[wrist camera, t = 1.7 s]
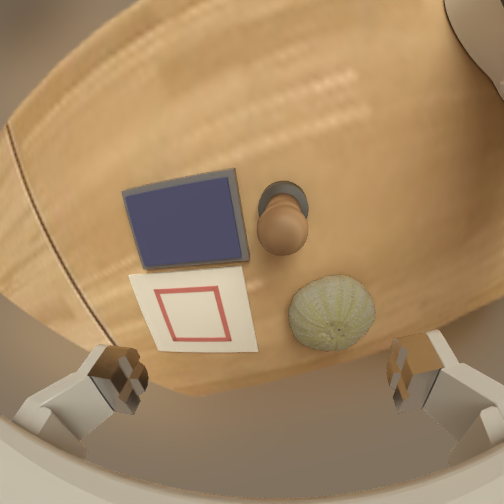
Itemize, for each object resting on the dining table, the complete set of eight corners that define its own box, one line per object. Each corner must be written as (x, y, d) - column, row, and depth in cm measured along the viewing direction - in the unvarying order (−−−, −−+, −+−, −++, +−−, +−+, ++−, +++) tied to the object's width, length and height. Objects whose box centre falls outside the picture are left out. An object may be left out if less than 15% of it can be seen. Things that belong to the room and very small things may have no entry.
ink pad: (234, 167, 25) (231, 170, 24) (250, 255, 29) (248, 262, 28) (126, 189, 27) (118, 192, 26) (147, 265, 31) (141, 271, 30)
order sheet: (242, 265, 30) (241, 267, 29) (258, 350, 34) (258, 352, 34) (129, 274, 32) (127, 276, 31) (159, 349, 37) (158, 351, 36)
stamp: (304, 178, 25) (313, 202, 17) (309, 223, 27) (318, 266, 19) (257, 183, 26) (242, 210, 18) (263, 227, 28) (253, 272, 19)
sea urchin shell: (276, 282, 28) (342, 311, 22) (325, 254, 32) (386, 273, 26) (283, 350, 31) (337, 383, 25) (326, 318, 36) (377, 341, 30)
